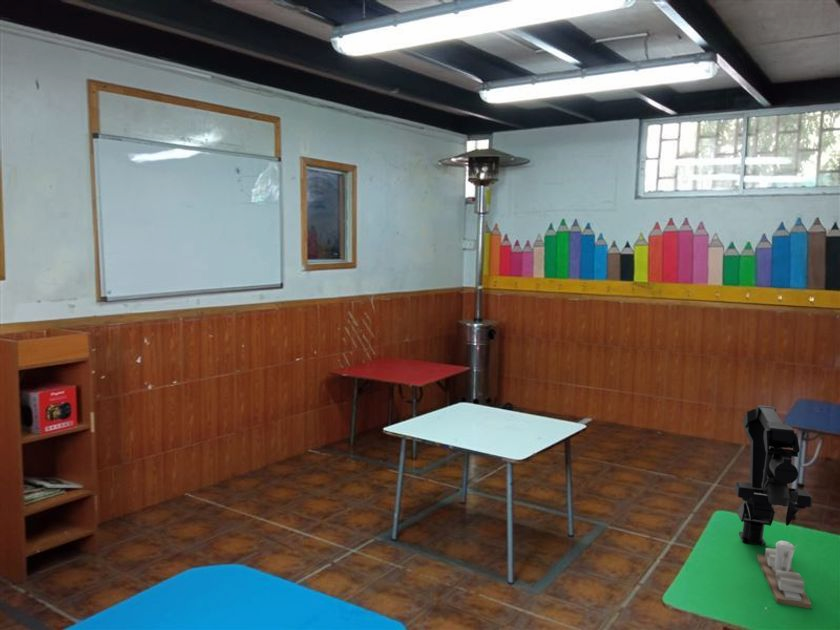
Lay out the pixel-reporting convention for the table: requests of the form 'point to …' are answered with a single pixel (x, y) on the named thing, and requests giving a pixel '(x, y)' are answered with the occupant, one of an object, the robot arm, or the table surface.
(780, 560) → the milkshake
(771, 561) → the wooden board with pads
